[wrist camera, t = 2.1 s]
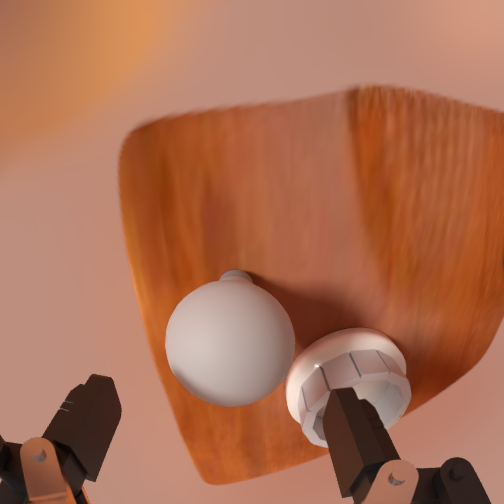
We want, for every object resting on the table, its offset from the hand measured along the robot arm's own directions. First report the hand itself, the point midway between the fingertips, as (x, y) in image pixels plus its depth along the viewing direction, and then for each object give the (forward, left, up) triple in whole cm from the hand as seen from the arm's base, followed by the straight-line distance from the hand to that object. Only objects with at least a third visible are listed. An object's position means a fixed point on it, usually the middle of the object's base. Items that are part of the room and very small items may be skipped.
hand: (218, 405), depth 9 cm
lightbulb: (0, 0, -12) cm, 12 cm away
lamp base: (-4, +13, -12) cm, 18 cm away
